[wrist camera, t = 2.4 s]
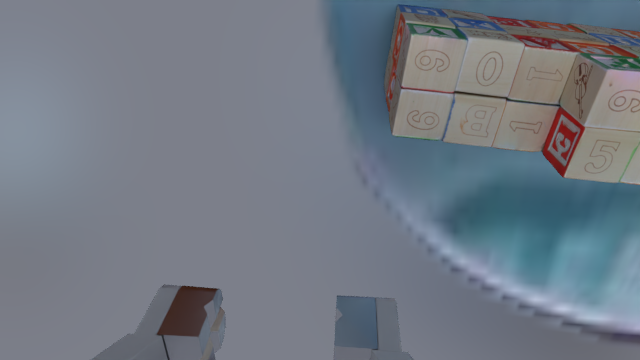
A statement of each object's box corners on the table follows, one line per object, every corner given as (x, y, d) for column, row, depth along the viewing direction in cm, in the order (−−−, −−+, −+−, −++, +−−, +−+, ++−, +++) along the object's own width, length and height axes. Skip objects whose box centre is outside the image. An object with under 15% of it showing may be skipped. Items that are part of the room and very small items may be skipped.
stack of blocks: (381, 87, 34) (393, 159, 23) (396, 2, 31) (417, 41, 20) (653, 119, 34) (789, 207, 23) (696, 37, 31) (877, 96, 20)
